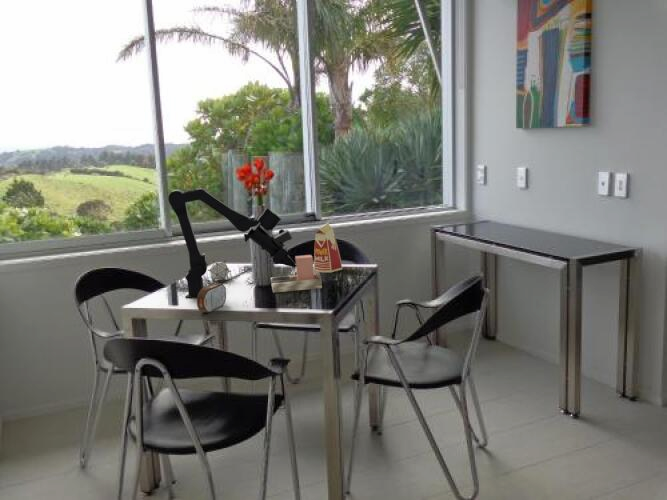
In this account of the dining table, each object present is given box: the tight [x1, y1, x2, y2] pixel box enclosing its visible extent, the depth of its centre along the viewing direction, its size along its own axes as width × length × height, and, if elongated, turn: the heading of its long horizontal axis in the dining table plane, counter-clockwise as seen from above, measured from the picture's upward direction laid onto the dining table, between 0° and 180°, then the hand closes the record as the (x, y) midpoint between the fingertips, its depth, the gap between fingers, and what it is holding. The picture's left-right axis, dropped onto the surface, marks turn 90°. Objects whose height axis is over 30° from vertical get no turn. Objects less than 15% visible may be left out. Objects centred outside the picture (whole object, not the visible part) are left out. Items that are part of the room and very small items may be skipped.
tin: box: [196, 282, 227, 314], centre depth 223 cm, size 15×3×8 cm, turn 159°
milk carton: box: [313, 221, 343, 273], centre depth 275 cm, size 9×9×20 cm
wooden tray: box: [270, 271, 323, 294], centre depth 250 cm, size 18×13×4 cm
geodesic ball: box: [207, 259, 232, 282], centre depth 270 cm, size 9×8×10 cm
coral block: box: [294, 254, 315, 281], centre depth 249 cm, size 6×5×10 cm
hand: (295, 266), depth 249 cm, fingers closed
